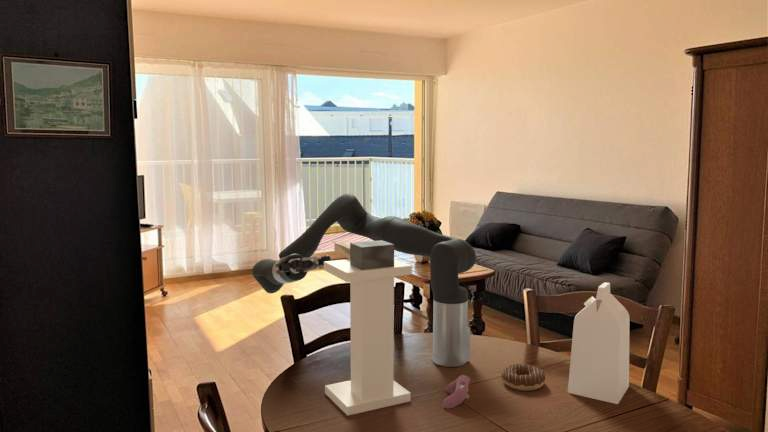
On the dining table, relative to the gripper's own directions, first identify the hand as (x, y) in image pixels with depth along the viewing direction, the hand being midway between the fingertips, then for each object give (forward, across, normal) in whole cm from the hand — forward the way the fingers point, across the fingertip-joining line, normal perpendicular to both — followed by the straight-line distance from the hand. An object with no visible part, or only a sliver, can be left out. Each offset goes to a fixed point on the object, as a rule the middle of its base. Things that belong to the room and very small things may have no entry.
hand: (314, 260), depth 160 cm
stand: (+15, 0, +35) cm, 38 cm away
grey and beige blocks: (+21, +1, +3) cm, 21 cm away
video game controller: (+27, +17, +39) cm, 51 cm away
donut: (+28, +37, +40) cm, 61 cm away
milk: (+40, +50, +44) cm, 78 cm away
